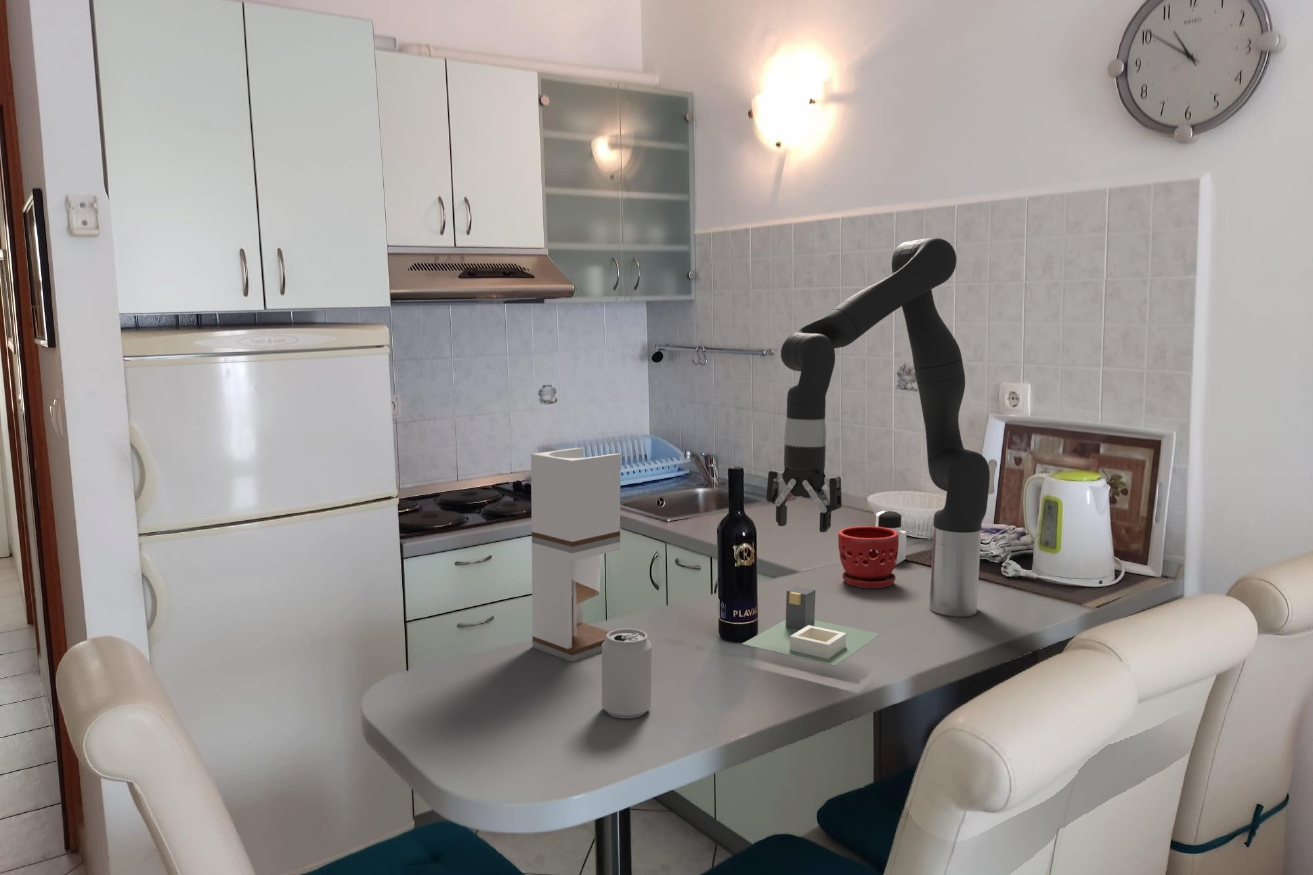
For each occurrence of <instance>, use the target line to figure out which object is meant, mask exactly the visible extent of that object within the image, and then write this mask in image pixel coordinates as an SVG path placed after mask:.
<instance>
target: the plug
mask: <svg viewBox="0 0 1313 875" xmlns="http://www.w3.org/2000/svg"><path fill="white" fill-rule="evenodd" d="M785 597H786V600H785V602H786V603H785V620H786V627H788V628H793V629H797V630H801V629H803V628H805V627H806V626H808V625H810V626H814V620H816V618H815V617H816V616H815V614H816V589H813V588H810V587H809V588H808V587H804V586H798V585H796V586H794V587H792V588H790V589H787V590H786V596H785Z"/></svg>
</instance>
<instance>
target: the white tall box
mask: <svg viewBox="0 0 1313 875" xmlns="http://www.w3.org/2000/svg"><path fill="white" fill-rule="evenodd" d="M583 452H584V448H583V447H574V448H566V449H558V450H552V451H544V452H537V453H536V452H535V453H531V454H530V459H531V461H530V462H531V463H530V464H531V465H530V466H531V468H530V470H531V471H530V472H531V476H530V477H531V478H530V481H531V482H530V483H531V490H530V492H531V500H530V501H531V598H532V599H531V605H532V606H531V610H532V612H531V614H532V616H531V617H532V618H531V619H532V622H531V623H532V624H531V625H532V628H531V629H532V641H531V642H532V643H531V644H532V648H533V649H534V648H535V649H537V650H540V651H541V652H545V653H547V654H550V655H553V656H554V657H555V656H556V657H558V658H561V659H563V660H566V661H569V662H571V663H574V662H577V661H579V660H583V659H586V658H589V657H590V656H594V655H597V654H600V653H602V644H603V642H604V641H605V640H606V639H607V637H606V635H607V633H609V632H610V631H609V630H606V629H603V628H601V627H597V626H595V625H591V624H588V623H585V622H584V619H583V618H584V616H583V614H584V612H583V611H584V610H583V603H584V602H585V601H588V600H590V599H592V598H595V597H596V596H599V595H600V555H603V554H608V553H611V552H616V551H620V550H621V458H622V457H621V453H617V452H616V453H609V454H603V455H596V456H588V457H583V456H584V455H583V454H584V453H583Z"/></svg>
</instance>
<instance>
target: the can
mask: <svg viewBox="0 0 1313 875" xmlns="http://www.w3.org/2000/svg"><path fill="white" fill-rule="evenodd" d="M606 637H607V639H606V640H605V641H604V642H603V644H602V652H601V707H602V709H603V710H604V711H606V712H607V714H608V715H610V717H611V716H612V717H614V718H618V719H635V718H639V717H642V716H643V715H645V714H646V712H647V711H648V710H650V709H651V706H652V675H653V674H652V671H653V670H652V664H653V662H652V659H653V658H652V656H653V654H652V652H653V644H652V643H651V641H650V640H649V639H648V637H649V636H648V634H647V633H646V632H645V631H643V630H640V629H638V628H637V629H636V628H618V629H614V630H611V631H610V632H609V633H607V635H606Z"/></svg>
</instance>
